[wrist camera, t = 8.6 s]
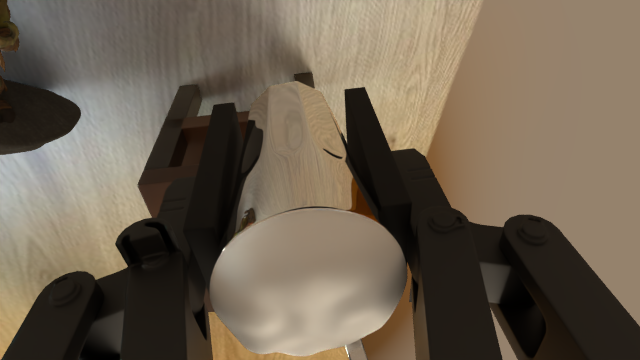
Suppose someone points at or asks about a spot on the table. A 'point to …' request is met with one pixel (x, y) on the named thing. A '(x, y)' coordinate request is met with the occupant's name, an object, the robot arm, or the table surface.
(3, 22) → the figurine
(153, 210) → the small wooden side table
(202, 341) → the robot arm
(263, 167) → the milkshake
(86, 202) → the table surface
